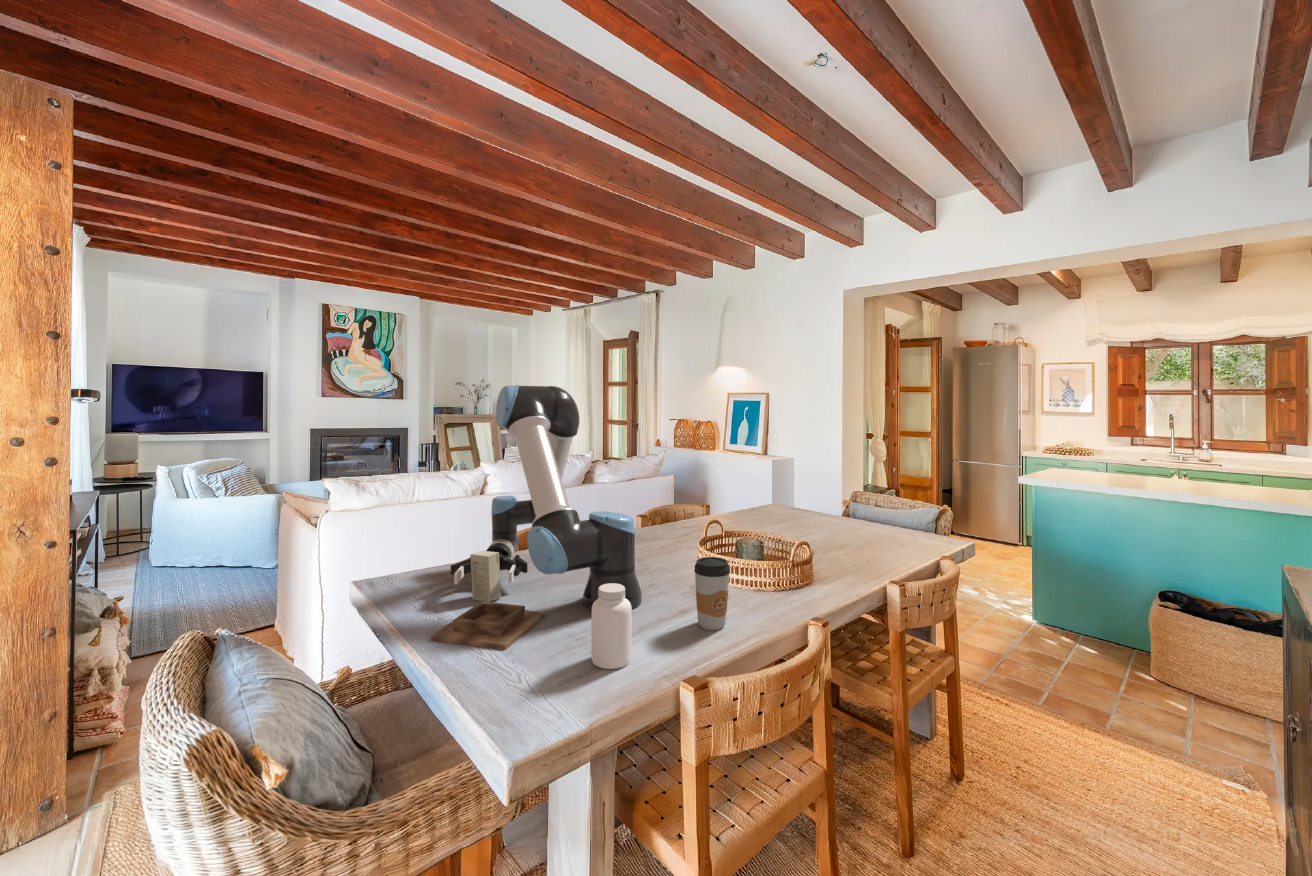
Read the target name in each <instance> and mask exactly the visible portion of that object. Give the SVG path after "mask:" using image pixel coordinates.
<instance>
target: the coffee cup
mask: <svg viewBox="0 0 1312 876" xmlns="http://www.w3.org/2000/svg"><path fill="white" fill-rule="evenodd" d="M693 572H694V578H695V579H694V580H695V596H696V597H695V601H696V610H697V611H696V612H697V613H696V614H697V622H698V623H697V624H698V625H699V627H700V628H702V629H704V630H708V631H718V630H722V629H724V628H725V626H726V623H727V622H726V621H727V612H728V602H729V600H728V599H729V583H730V574H731V566H730V564H729V561H728V560H727V559H725V558H723V557H719V556H718V557H716V556H705V557H700V558H697V559H696V563H695V564H694V571H693Z"/></svg>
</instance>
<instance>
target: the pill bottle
mask: <svg viewBox="0 0 1312 876" xmlns="http://www.w3.org/2000/svg"><path fill="white" fill-rule="evenodd" d="M598 598H599V599H597V600H596V601H595V602H594V603H593V605H592V610H591V651H590V652H591V662H592V663H593V665H594V666H596V667H597V668H600V669H604V670H615V669H616V670H617V669H621V668H624V667H626V666H627V665H628V664H630V662H631V659H632V616H633V615H632V613H633V612H632V610H633V609H632V607H631V604H630V602H629V601H628V600H627V599H626V598H625V587H624V586H623V585H621V584H616V583H608V584H604V585H601V586H600V587H599V588H598Z"/></svg>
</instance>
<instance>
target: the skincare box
mask: <svg viewBox="0 0 1312 876" xmlns="http://www.w3.org/2000/svg"><path fill="white" fill-rule="evenodd" d="M470 557H471V572H470V573H471V591H472V592H471V593H472V594H471V596H472V597H471V598H472V600H474V601H479V602H482V601H483V602H492V603H493V602H494V601H496V600H498V599H500V598H501V597H502V592H501V590H502V589H501V572H500V571H501V570H500V566H499V552H490V551H486V550H479V551H476V552H473V553H471V554H470Z"/></svg>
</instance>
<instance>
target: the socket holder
mask: <svg viewBox="0 0 1312 876" xmlns="http://www.w3.org/2000/svg"><path fill="white" fill-rule="evenodd" d="M544 617H545V611H537V610H526V606H525V605H521V604H519V605H518V604H509V603H501V602H500V603H499V602H493V601H492V602H485V601H479V603H477V604H475V605H474V606H473V607H471V608H469V609H468V610H467V611H465V612H464V613H462V614H460V615H459V616H457V617H456V618H454V619H453V620H452V621H451V622H450V623H448V624H446V625H445V626H444V627H442V628H441V629H439V630H438V631H435V632H434V633H433V634H431V635H430V640H431V641H432V642H433V641H434V642H441V643H450V644H458V645H459V644H460V645H466V646H474V647H480V646H481V647H480V648H488V647H489V649H490V648H491V649H496V648H500V649H499V650H504V649H505V650H507V649H508V648H509V647H510V646H511V644H512V645H513V644H514V643H515V642H516V641H517V640H519V639H520V638H521V637H523V635H524V634H525V633H527V632H528V631H529V630H530V629H532V627H533V626H534V624H535V625H536V624H537V623H538V622H539V621H540V620H542V619H543V618H544ZM526 631H527V632H526Z"/></svg>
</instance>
